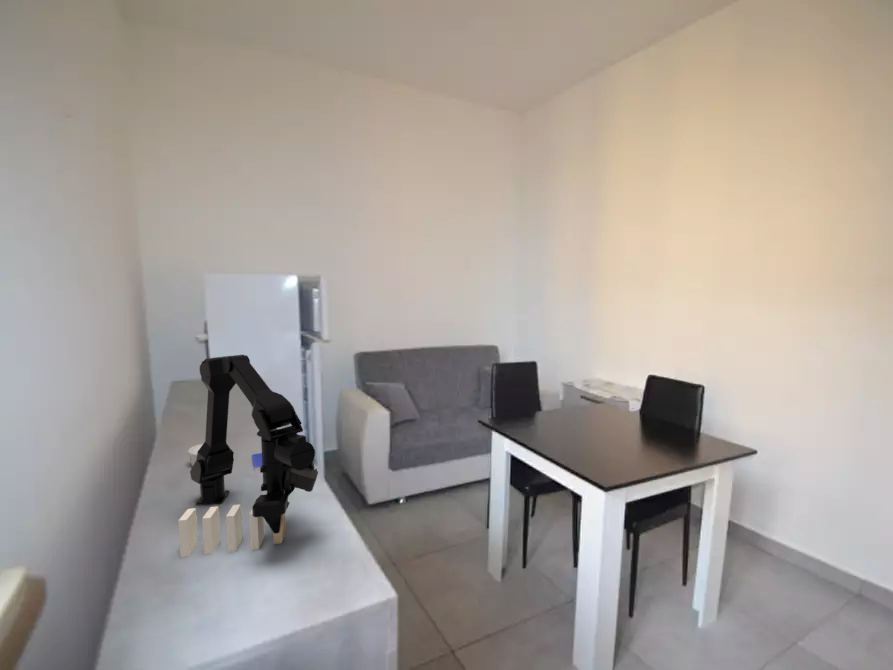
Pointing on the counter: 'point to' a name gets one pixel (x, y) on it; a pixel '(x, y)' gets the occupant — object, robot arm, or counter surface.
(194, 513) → the domino
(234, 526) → the domino
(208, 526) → the domino
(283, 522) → the maple domino
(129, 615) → the counter surface
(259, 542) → the domino
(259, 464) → the hard drive
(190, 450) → the ramekin
